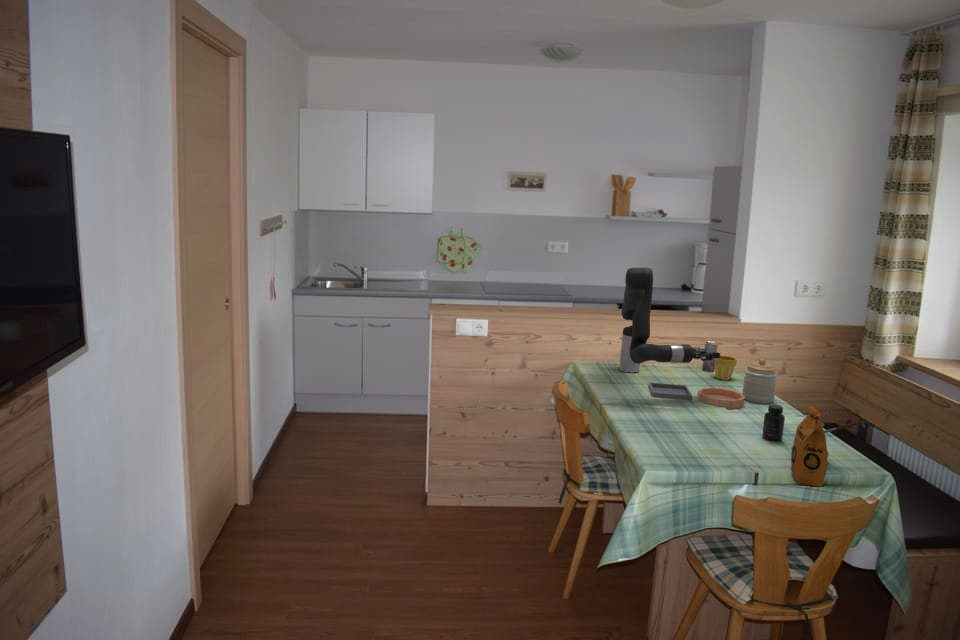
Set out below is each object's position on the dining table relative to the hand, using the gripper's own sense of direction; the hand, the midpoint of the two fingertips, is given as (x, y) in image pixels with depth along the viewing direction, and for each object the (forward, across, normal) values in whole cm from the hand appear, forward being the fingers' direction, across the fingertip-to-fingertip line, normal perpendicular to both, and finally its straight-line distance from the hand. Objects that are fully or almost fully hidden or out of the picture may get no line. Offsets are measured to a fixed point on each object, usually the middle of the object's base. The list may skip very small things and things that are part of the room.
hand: (715, 353), depth 312 cm
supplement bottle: (-2, -46, +20) cm, 50 cm away
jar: (+22, 0, +20) cm, 30 cm away
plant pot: (+25, +32, +20) cm, 46 cm away
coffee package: (-14, -81, +20) cm, 85 cm away
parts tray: (-14, +9, +20) cm, 26 cm away
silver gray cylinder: (-3, 0, +7) cm, 8 cm away
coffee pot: (+2, -68, +20) cm, 71 cm away
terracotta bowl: (+3, -3, +20) cm, 20 cm away
